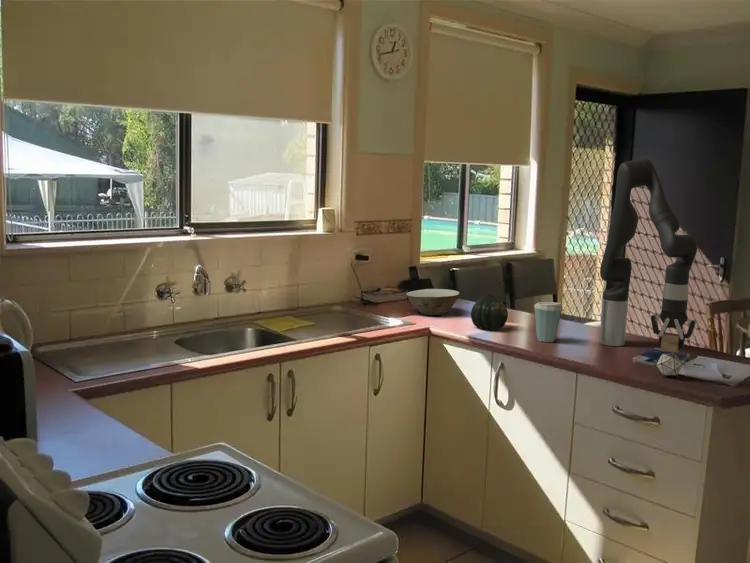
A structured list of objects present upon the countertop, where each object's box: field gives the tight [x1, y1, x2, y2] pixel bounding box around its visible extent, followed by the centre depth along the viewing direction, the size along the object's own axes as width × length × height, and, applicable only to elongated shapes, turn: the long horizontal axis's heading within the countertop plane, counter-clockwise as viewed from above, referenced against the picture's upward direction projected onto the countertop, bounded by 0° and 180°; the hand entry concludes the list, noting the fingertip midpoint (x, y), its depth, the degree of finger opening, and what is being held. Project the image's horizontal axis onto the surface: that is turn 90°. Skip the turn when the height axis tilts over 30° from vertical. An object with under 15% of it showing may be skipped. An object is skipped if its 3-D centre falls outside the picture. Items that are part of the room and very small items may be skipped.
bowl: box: [405, 288, 461, 316], centre depth 331 cm, size 24×24×10 cm
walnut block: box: [660, 331, 680, 354], centre depth 239 cm, size 5×5×5 cm
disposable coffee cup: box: [533, 301, 564, 343], centre depth 285 cm, size 11×11×15 cm
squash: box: [470, 292, 509, 331], centre depth 304 cm, size 14×15×15 cm
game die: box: [653, 351, 686, 378], centre depth 241 cm, size 9×8×10 cm
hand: (670, 348), depth 240 cm, fingers closed on walnut block, 5 cm apart
